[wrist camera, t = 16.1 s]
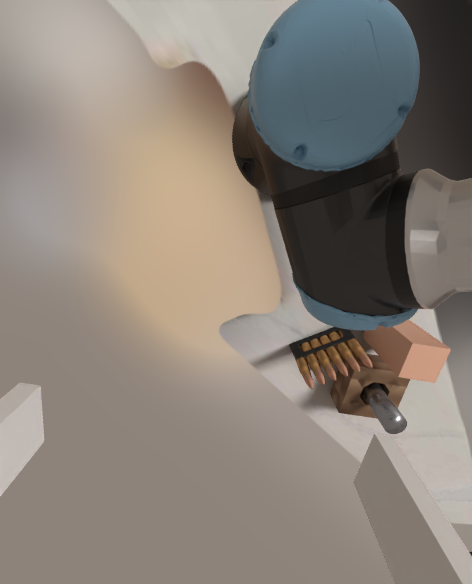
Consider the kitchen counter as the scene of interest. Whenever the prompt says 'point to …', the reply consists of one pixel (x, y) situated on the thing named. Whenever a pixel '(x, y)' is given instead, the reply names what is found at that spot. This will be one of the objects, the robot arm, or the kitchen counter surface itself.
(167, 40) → the kitchen counter surface
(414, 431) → the kitchen counter surface
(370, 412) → the bore block
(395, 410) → the round peg
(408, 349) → the square peg
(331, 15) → the robot arm
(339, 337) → the ammunition clip
